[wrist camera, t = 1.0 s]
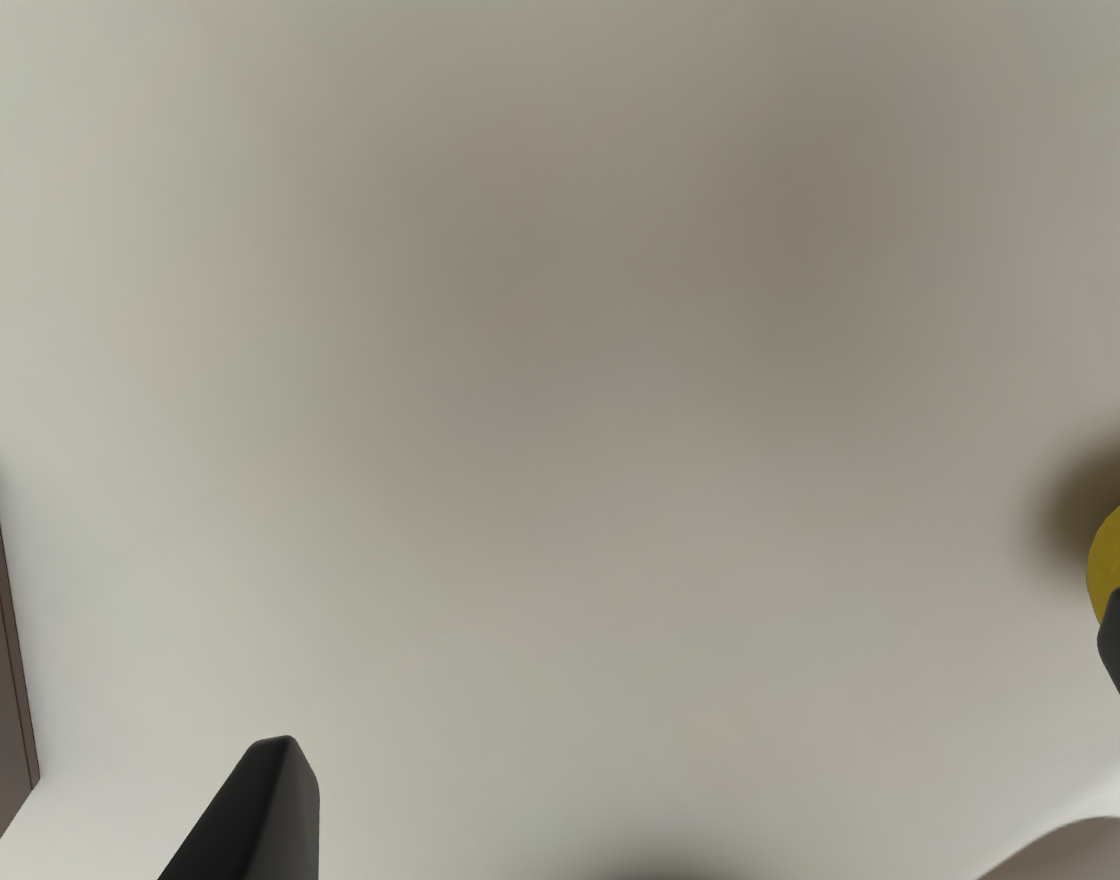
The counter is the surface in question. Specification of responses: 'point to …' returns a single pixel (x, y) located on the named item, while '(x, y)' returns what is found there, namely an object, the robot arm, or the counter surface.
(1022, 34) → the counter surface
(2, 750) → the crate
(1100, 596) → the lemon
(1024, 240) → the counter surface
